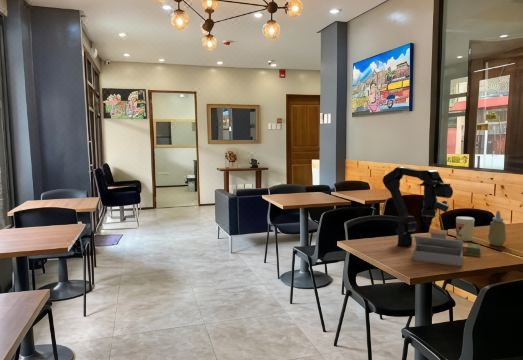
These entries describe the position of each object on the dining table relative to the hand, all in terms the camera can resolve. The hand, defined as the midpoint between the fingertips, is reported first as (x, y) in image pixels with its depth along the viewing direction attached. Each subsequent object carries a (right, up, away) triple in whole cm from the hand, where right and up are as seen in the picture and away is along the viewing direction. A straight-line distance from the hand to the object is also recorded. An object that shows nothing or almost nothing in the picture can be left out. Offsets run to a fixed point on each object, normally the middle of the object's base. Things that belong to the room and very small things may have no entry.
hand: (428, 227), depth 191 cm
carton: (+17, -13, +1) cm, 21 cm away
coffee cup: (+31, -10, +26) cm, 41 cm away
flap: (0, -6, -11) cm, 12 cm away
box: (-1, -14, -11) cm, 17 cm away
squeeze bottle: (+41, -11, +14) cm, 45 cm away
